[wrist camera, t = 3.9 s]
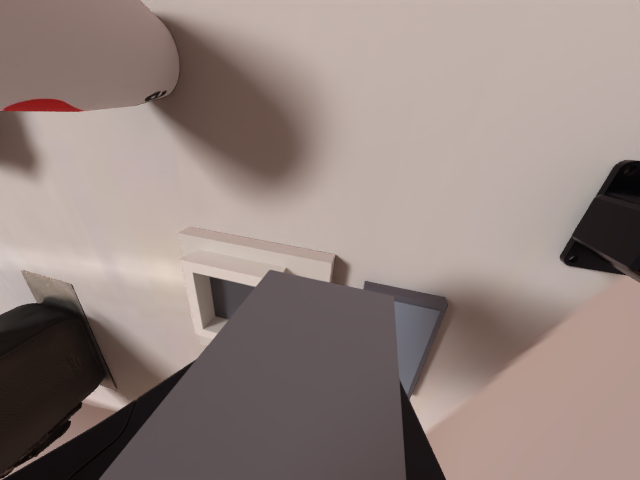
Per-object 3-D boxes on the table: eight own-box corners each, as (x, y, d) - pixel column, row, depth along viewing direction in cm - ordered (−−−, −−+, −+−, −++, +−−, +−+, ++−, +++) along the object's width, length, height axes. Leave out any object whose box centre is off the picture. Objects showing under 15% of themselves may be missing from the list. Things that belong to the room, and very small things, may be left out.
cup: (99, 89, 19) (-152, 52, 10) (99, -48, 15) (-313, -306, 6) (188, 139, 19) (14, 147, 10) (210, 14, 15) (-43, -154, 6)
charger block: (394, 296, 8) (436, 944, 2) (370, 380, 10) (347, 823, 4) (269, 269, 9) (-27, 633, 2) (270, 352, 11) (107, 674, 4)
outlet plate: (335, 254, 20) (326, 277, 17) (321, 365, 26) (312, 397, 23) (189, 226, 22) (158, 242, 19) (208, 334, 28) (187, 358, 25)
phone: (444, 297, 19) (448, 306, 18) (408, 390, 24) (409, 400, 23) (364, 281, 20) (363, 288, 19) (346, 372, 25) (345, 382, 24)
